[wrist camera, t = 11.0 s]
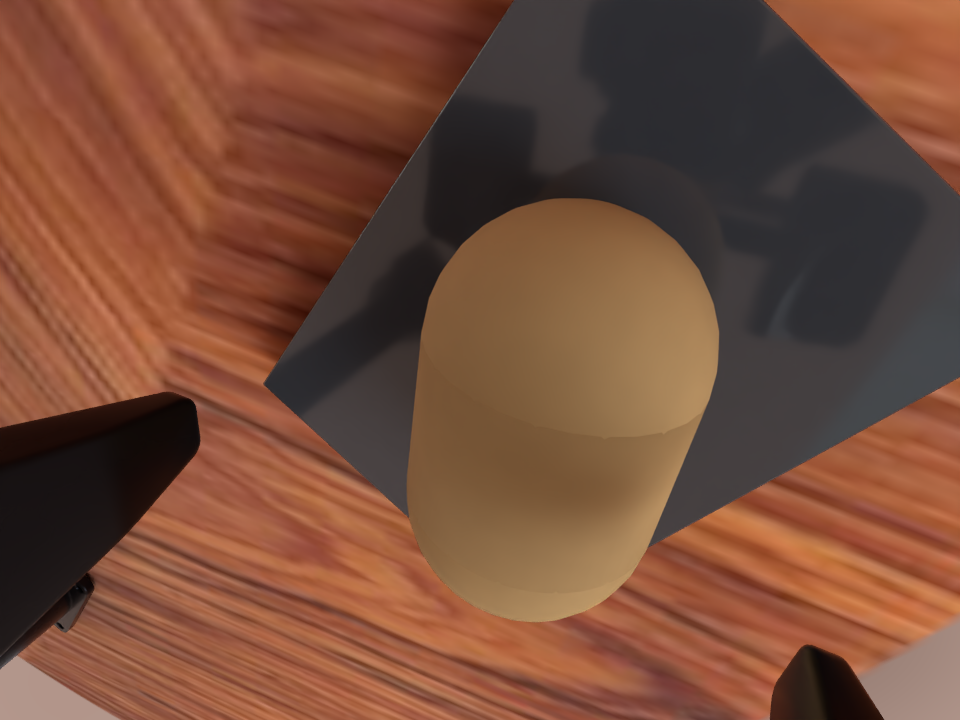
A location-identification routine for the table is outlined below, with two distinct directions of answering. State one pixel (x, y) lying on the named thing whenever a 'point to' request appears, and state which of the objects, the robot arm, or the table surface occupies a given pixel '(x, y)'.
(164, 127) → the table surface
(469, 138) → the slate board
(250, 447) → the table surface
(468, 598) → the potato
